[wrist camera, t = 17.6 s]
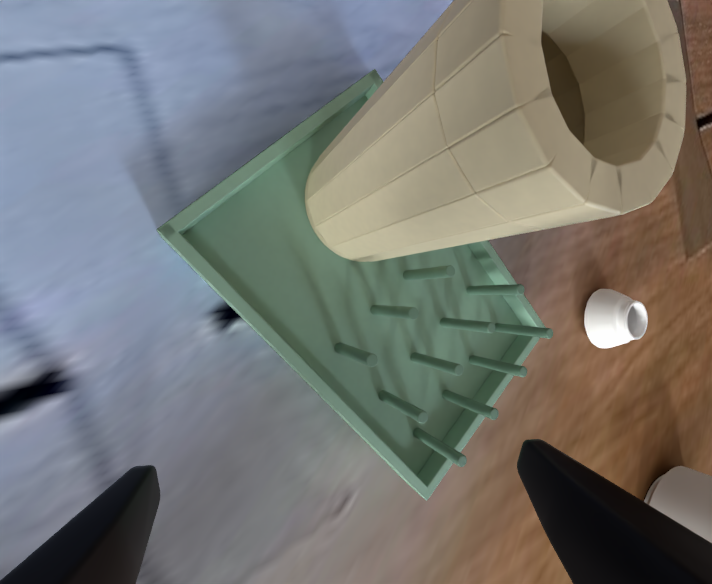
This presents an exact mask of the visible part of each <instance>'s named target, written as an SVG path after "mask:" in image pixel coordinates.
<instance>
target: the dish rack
mask: <svg viewBox="0 0 712 584" xmlns="http://www.w3.org/2000/svg"><path fill="white" fill-rule="evenodd" d="M382 83H383V81H382V79H381V77H380V76H379V74H378V73H377V71H376V70H375V69H374V70H372V71H371V72H370V73H368V74H367V75H366V76H364V77H363V78H362V79H360V80H359V81H358V82H356V83H355V84H353V85H352V86H351V87H349V88H348V89H347V90H345V91H344V92H343V93H341V94H340V95H339V96H337V97H336V98H334V99H333V100H332V101H330V102H329V103H328V104H326V105H325V106H324V107H322V108H321V109H319V110H318V111H317V112H315V113H314V114H313V115H311V116H310V117H309V118H307V119H306V120H305V121H303V122H302V123H300V124H299V125H298V126H296V127H295V128H294V129H292V130H291V131H290V132H288V133H287V134H286V135H284V136H283V137H281V138H280V139H279V140H277V141H276V142H275V143H273V144H272V145H271V146H269V147H268V148H267V149H265V150H264V151H262V152H261V153H260V154H258V155H257V156H256V157H254V158H253V159H252V160H250V161H249V162H248V163H246V164H245V165H243V166H242V167H241V168H239V169H238V170H237V171H235V172H234V173H233V174H231V175H230V176H228V177H227V178H226V179H224V180H223V181H222V182H220V183H219V184H218V185H216V186H215V187H214V188H212V189H211V190H209V191H208V192H207V193H205V194H204V195H203V196H201V197H200V198H199V199H197V200H196V201H195V202H193V203H192V204H190V205H189V206H188V207H186V208H185V209H184V210H182V211H181V212H180V213H178V214H177V215H176V216H174V217H173V218H171V219H170V220H169V221H167V222H166V223H165V224H163V225H162V226H161V227H159V228H158V229H157V232H158V233H159V235H160V236H161V237H162V239H163V240H164V241H165V242H166V243H167V244H168V245H169V246H170V247H171V248H172V249H173V250H174V251H175V252H176V253H177V254H178V255H179V256H180V257H181V258H182V259H183V260H184V261H185V262H186V263H187V264H188V265H189V266H190V267H191V268H192V269H193V270H194V271H195V272H196V273H197V274H198V275H199V276H200V277H201V278H202V279H203V280H204V281H205V282H206V283H207V284H208V285H209V286H210V287H211V288H212V289H213V290H214V291H215V292H216V293H217V294H218V295H219V296H220V297H221V298H222V299H223V300H224V301H225V302H226V303H227V304H228V305H229V306H230V307H231V308H232V309H233V310H234V311H235V312H236V313H237V314H238V315H239V316H240V317H241V318H242V319H243V320H244V321H245V322H246V323H247V324H248V325H249V326H250V327H251V328H252V329H253V330H254V331H255V332H256V333H257V334H258V335H259V336H260V337H261V338H262V339H263V340H264V341H265V342H266V343H267V344H268V345H269V346H270V347H271V348H272V349H273V350H274V351H275V352H276V353H277V354H278V355H279V356H280V357H281V358H282V359H283V360H284V361H285V362H286V363H287V364H288V365H289V366H290V367H291V368H292V369H293V370H294V371H295V372H296V373H297V374H298V375H299V376H300V377H301V378H302V379H303V380H304V381H305V382H306V383H307V384H308V385H309V386H310V387H311V388H312V389H313V390H314V391H315V392H316V393H317V394H318V395H319V396H320V397H321V398H322V399H323V400H324V401H325V402H326V403H327V404H328V405H329V406H330V407H331V408H332V409H333V410H334V411H335V412H336V413H337V414H338V415H339V416H340V417H341V418H342V419H343V420H344V421H345V422H346V423H347V424H348V425H349V426H350V427H351V428H352V429H353V430H354V431H355V432H356V433H357V434H358V435H359V436H360V437H361V438H362V439H363V440H364V441H365V442H366V443H367V444H368V445H369V446H370V447H371V448H372V449H373V450H374V451H375V452H376V453H377V454H378V455H379V456H380V457H381V458H382V459H383V460H384V461H385V462H386V463H387V464H388V465H389V466H390V467H391V468H392V469H393V470H394V471H395V472H396V473H397V474H398V475H399V476H400V477H401V478H402V479H403V480H404V481H405V482H406V483H407V484H408V485H410V486H411V487H412V488H413V489H414V490H415V491H416V492H417V493H418V494H419V495H421V496H422V497H423V498H424V499H425V500H426V501H427V500H428V499H429V497H430V496H431V494H432V493H433V491H434V490H435V488H436V487H437V485H438V484H439V483H440V481H441V480H442V478H443V477H444V475H445V474H446V473H447V471H448V470H449V468H450V467H451V465H452V464H453V463H455V464H456V465H458V466H460V467H463V466H464V465H465V464H466V461H467V459H466V457H465V455H463V454H462V453H460V452H461V451H462V449H463V448H464V447H465V445H466V444H467V442H468V441H469V439H470V438H471V436H472V435H473V434H474V432H475V431H476V429H477V428H478V426H479V425H480V424H481V422H482V421H483V419H484V418H485V417H488V418H490V419H492V420H495V419H496V418H497V417H498V410H497V409H495V408H493V407H492V406H493V405H494V403H495V402H496V400H497V399H498V398H499V396H500V395H501V393H502V392H503V390H504V389H505V387H506V386H507V385H508V383H509V382H510V380H511V379H512V377H513V376H514V375H516V376H520V377H525V376H526V374H527V369H526V368H525V367H524V366H521V364H522V363H523V362H524V360H525V359H526V357H527V356H528V354H529V353H530V351H531V350H532V349H533V347H534V346H535V344H536V343H537V341H538V340H539V338H540V337H541V338H551V337H552V336H553V331H552V329H550V328H546V327H545V326H544V324H543V323H542V321H541V320H540V318H539V317H538V315H537V314H536V312H535V311H534V309H533V308H532V306H531V305H530V303H529V302H528V300H527V299H526V297H525V296H524V294H523V293H524V286H523V285H521V284H517V283H516V282H515V280H514V279H513V277H512V276H511V274H510V273H509V271H508V270H507V268H506V267H505V265H504V264H503V262H502V261H501V259H500V258H499V256H498V255H497V253H496V252H495V250H494V249H493V247H492V246H491V244H490V243H489V241H488V240H486V241H480V242H475V243H470V244H464V245H459V246H454V247H448V248H443V249H438V250H432V251H427V252H422V253H417V254H411V255H406V256H401V257H395V258H390V259H385V260H379V261H374V262H369V261H368V262H358V261H352V260H349V259H346V258H343V257H341V256H339V255H337V254H336V253H334V252H333V251H331V250H330V249H329V248H328V247H327V246H325V245H324V244H323V242H322V241H321V240H320V239H319V238H318V236H317V235H316V233H315V232H314V230H313V228H312V226H311V224H310V221H309V219H308V216H307V212H306V207H305V187H306V182H307V178H308V175H309V173H310V171H311V169H312V167H313V166H314V164H315V163H316V161H317V160H318V158H319V156H320V155H321V154H322V153H323V151H324V150H325V149H326V148H327V147H328V146H329V145H330V143H331V142H332V141H333V140H334V139H335V138H336V136H337V135H338V134H339V133H340V132H341V131H342V130H343V128H344V127H345V126H346V125H347V124H348V123H349V121H350V120H351V119H352V118H353V117H354V116H355V114H356V113H357V112H358V111H359V110H360V109H361V108H362V106H363V105H364V104H365V103H366V102H367V101H368V99H369V98H370V97H371V96H372V95H373V94H374V92H375V91H376V90H377V89H378V88H379V87H380V86H381V84H382Z"/></svg>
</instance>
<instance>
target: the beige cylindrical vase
mask: <svg viewBox="0 0 712 584" xmlns="http://www.w3.org/2000/svg"><path fill="white" fill-rule="evenodd" d="M677 30H678V29H677V26H676V23H675V20H674V18H673V15H672V12H671V9H670V6H669V4H668V1H667V0H454V1H453V2H452V3H451V4H450V6H449V7H448V8H447V9H446V10H445V11H444V13H443V14H442V15H441V16H440V17H439V18H438V20H437V21H436V22H435V23H434V24H433V25H432V26H431V28H430V29H429V30H428V31H427V32H426V33H425V35H424V36H423V37H422V38H421V39H420V40H419V42H418V43H417V44H416V45H415V46H414V47H413V48H412V50H411V51H410V52H409V53H408V54H407V55H406V57H405V58H404V59H403V60H402V61H401V62H400V64H399V65H398V66H397V67H396V68H395V69H394V70H393V72H392V73H391V74H390V75H389V76H388V77H387V79H386V80H385V81H384V82H383V83H382V84H381V86H380V87H379V88H378V89H377V90H376V91H375V92H374V94H373V95H372V96H371V97H370V98H369V99H368V101H367V102H366V103H365V104H364V105H363V106H362V108H361V109H360V110H359V111H358V112H357V113H356V114H355V116H354V117H353V118H352V119H351V120H350V121H349V123H348V124H347V125H346V126H345V127H344V128H343V130H342V131H341V132H340V133H339V134H338V135H337V136H336V138H335V139H334V140H333V141H332V142H331V143H330V145H329V146H328V147H327V148H326V149H325V150H324V151H323V153H322V154H321V155H320V156H319V158H318V160H317V161H316V163H315V164H314V166H313V167H312V169H311V171H310V173H309V175H308V178H307V182H306V187H305V207H306V212H307V216H308V219H309V221H310V224H311V226H312V228H313V230H314V232H315V233H316V235H317V236H318V238H319V239H320V240H321V241H322V242H323V244H324V245H325V246H327V247H328V248H329V249H330V250H331V251H333V252H334V253H336V254H337V255H339V256H341V257H343V258H346V259H349V260H352V261H358V262H368V261H369V262H374V261H379V260H385V259H390V258H395V257H401V256H406V255H411V254H417V253H422V252H427V251H432V250H438V249H443V248H448V247H454V246H459V245H464V244H470V243H475V242H480V241H486V240H491V239H496V238H501V237H507V236H512V235H517V234H523V233H528V232H533V231H539V230H543V229H549V228H555V227H560V226H565V225H571V224H576V223H581V222H587V221H592V220H597V219H602V218H608V217H613V216H618V215H623V214H625V213H628V212H630V211H633V210H635V209H638V208H640V207H643V206H646V205H648V204H650V203H651V202H652V201H653V200H654V199H655V198H656V196H657V195H658V194H659V192H660V191H661V190H662V188H663V187H664V185H665V184H666V183H667V181H668V180H669V179H670V177H671V176H672V174H673V171H674V168H675V164H676V161H677V157H678V154H679V150H680V147H681V143H682V140H683V136H684V132H683V131H684V130H685V109H686V84H685V83H686V76H685V70H684V63H683V57H682V51H681V44H680V38H679V33H678V32H677Z"/></svg>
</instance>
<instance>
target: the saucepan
mask: <svg viewBox="0 0 712 584" xmlns="http://www.w3.org/2000/svg"><path fill="white" fill-rule="evenodd" d="M644 502H645V503H647V504H648V505H650V506H652V507H653V508H655V509H656V510H658V511H660V512H661V513H663V514H665V515H666V516H668V517H670V518H671V519H673V520H675V521H676V522H678V523H679V524H681V525H683V526H684V527H686V528H688V529H689V530H691V531H693V532H694V533H696V534H698V535H699V536H701V537H703V538H704V539H706V540H707V541H709V542H711V543H712V476H710V475H707V474H704V473H701V472H699V471H696V470H693V469H690V468H687V467H684V466H677V467H674V468H672V469H670V470H669V471H668V472H667V473H666V474H664V475H662V476H660V477H659V478H658V479H657V480H655V482H654V483H653V484H652V486H651V487H650V489H649V491H648V493H647V495H646V498H645V500H644Z"/></svg>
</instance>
